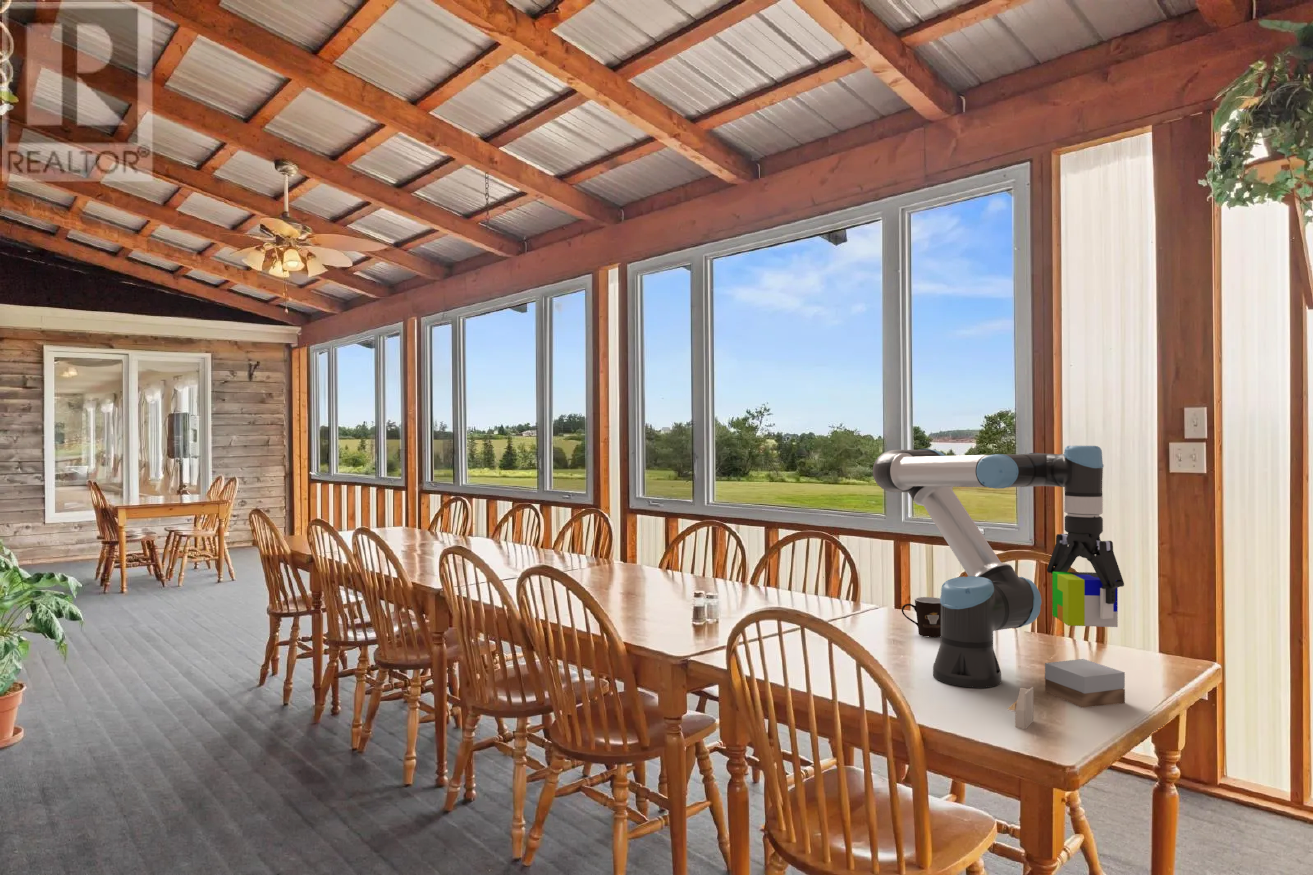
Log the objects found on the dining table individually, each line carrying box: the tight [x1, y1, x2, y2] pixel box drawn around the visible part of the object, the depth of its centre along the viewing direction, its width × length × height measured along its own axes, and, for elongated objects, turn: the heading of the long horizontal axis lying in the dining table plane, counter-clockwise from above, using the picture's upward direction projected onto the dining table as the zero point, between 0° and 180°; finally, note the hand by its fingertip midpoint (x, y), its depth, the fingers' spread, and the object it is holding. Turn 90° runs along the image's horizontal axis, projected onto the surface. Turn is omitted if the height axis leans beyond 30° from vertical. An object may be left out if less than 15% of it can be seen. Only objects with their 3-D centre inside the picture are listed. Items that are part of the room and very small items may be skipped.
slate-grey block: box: [1044, 658, 1126, 694], centre depth 179 cm, size 11×11×4 cm
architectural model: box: [1007, 686, 1034, 730], centre depth 164 cm, size 3×7×8 cm, turn 141°
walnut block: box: [1044, 678, 1126, 708], centre depth 179 cm, size 11×11×4 cm
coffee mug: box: [901, 596, 941, 638], centre depth 235 cm, size 12×9×10 cm
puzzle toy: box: [1051, 571, 1119, 628], centre depth 180 cm, size 10×10×10 cm
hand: (1083, 612), depth 180 cm, fingers closed on puzzle toy, 12 cm apart
